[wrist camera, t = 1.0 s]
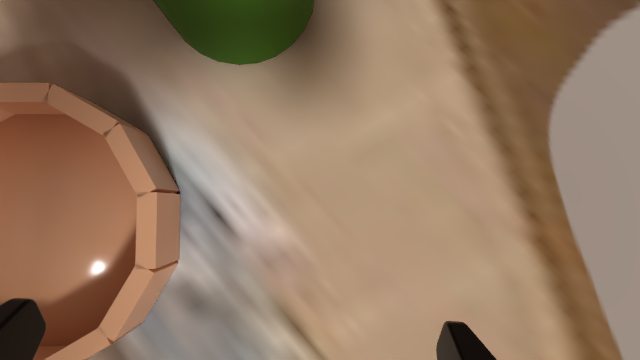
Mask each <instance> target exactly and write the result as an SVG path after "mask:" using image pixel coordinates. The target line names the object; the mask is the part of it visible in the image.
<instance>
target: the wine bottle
mask: <svg viewBox="0 0 640 360" xmlns="http://www.w3.org/2000/svg"><path fill="white" fill-rule="evenodd" d="M153 1H154V2H155V3H156V5H157V6H158V7H159V8H160V10H161V11H162V12H163V14H164V15H165V16H166V17H167V19H168V20H169V21H170V22H171V24H172V25H173V26H174V28H175V29H176V30H177V31H178V33H179V34H180V35H181V36H182V38H183V39H184V40H185V41H186V42H187V43H188V44H189V45H191V46H192V47H193V48H194V49H195V50H197V51H198V52H199V53H201V54H203V55H205V56H207V57H210V58H212V59H214V60H216V61H219V62H225V63H232V64H238V65H242V64H252V63H259V62H262V61H265V60H267V59H270V58H273V57H275V56H277V55H278V54H280V53H281V52H283V51H284V50H285V49H287V48H288V47H290V46H291V45H292V44H293V43H294V41H295V40H296V39H297V38H298V37H299V35H300V34H301V33H302V32H303V31H304V29H305V27H306V25H307V23H308V20H309V18H310V16H311V14H312V10H313V4H314V0H153Z"/></svg>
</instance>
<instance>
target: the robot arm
mask: <svg viewBox="0 0 640 360" xmlns="http://www.w3.org/2000/svg"><path fill="white" fill-rule="evenodd" d="M45 330H46V322H45V320H44V318H43V316H42V314H41V311H40V309H39V307H38V305H37V303H36V302H35V301H34V300H33V299H27V298H13V299H10V300H8V301H6V302H5V303H3V304H1V305H0V360H33V359H34V356H35V354H36V352H37V350H38V347H39V345H40V343H41V341H42V339H43V336H44V334H45ZM436 351H437V360H496V358H495V357H494V356H493V355H492V354H491V353H490V351H489V350H488V349H487V348H486V347H485V346H484V344H483V343H482V342H481V341H480V340H479V339H478V337H477V336H476V335H475V334H474V333H473V332H472V330H471V329H470V328H469V327H468V326H467V325H466V324H465V323H463V322H455V321H446V322H445V323H444V325H443V328H442V331H441V334H440V337H439V340H438V342H437V349H436Z"/></svg>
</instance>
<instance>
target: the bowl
mask: <svg viewBox="0 0 640 360" xmlns="http://www.w3.org/2000/svg"><path fill="white" fill-rule="evenodd" d="M178 191H179V189H178V187H177V185H176V183H175V182H174V180H173V178H172V176H171V175H170V173H169V171H168V169H167V168H166V166H165V164H164V162H163V160H162V159H161V157H160V155H159V153H158V152H157V150H156V148H155V146H154V144H153V143H152V141H151V139H150V137H149V136H148V135H146V133H145V132H143V131H141V130H140V129H138V128H136V127H135V126H133V125H131V124H129V123H128V122H126V121H124V120H122V119H121V118H119V117H117V116H115V115H114V114H112V113H110V112H108V111H107V110H105V109H103V108H101V107H100V106H98V105H96V104H94V103H93V102H91V101H89V100H87V99H85V98H82V97H80V96H78V95H76V94H74V93H72V92H70V91H67V90H65V89H63V88H61V87H59V86H57V85H55V84H51V83H0V305H1V304H3V303H5V302H6V301H8V300H10V299H13V298H27V299H33V300H34V301H35V302H36V303H37V305H38V307H39V309H40V311H41V314H42V316H43V318H44V320H45V322H46V330H45V334H44V336H43V339H42V341H41V343H40V345H39V347H38V350H37V352H36V354H35V356H34V359H33V360H85V359H87V358H89V357H90V356H92V355H94V354H95V353H97V352H99V351H101V350H102V349H104V348H106V347H107V346H109V345H111V344H112V343H114V342H115V341H117V340H118V339H120V338H121V337H122V336H124V335H125V334H127V333H128V332H130V331H131V330H133V329H134V328H136V327H137V326H139V325H140V324H141V323H142V322H143V321H144V320H145V319H146V317H147V315H148V313H149V312H150V310H151V308H152V307H153V305H154V303H155V302H156V300H157V298H158V297H159V295H160V293H161V291H162V290H163V288H164V286H165V285H166V283H167V281H168V280H169V278H170V276H171V274H172V273H173V271H174V269H175V268H176V266H177V264H178V263H177V262H176V261H177V260H179V250H180V196H181V194H176V193H177V192H178Z"/></svg>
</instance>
